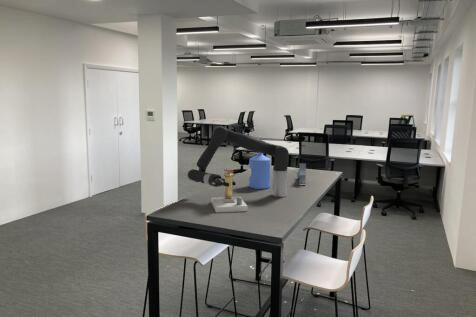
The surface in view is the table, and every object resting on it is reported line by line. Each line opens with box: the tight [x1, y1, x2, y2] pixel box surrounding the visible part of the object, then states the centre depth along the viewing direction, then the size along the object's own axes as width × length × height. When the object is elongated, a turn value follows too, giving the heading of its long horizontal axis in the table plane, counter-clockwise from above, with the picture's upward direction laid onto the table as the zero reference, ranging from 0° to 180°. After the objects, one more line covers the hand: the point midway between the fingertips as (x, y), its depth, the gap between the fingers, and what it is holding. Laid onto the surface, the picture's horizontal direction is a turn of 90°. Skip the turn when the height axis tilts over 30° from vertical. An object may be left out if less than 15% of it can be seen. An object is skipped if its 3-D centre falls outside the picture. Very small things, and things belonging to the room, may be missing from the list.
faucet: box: [296, 163, 307, 185], centre depth 301 cm, size 6×17×30 cm
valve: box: [223, 168, 235, 199], centre depth 226 cm, size 6×5×17 cm
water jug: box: [248, 152, 272, 190], centre depth 281 cm, size 16×16×28 cm
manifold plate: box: [211, 196, 248, 213], centre depth 228 cm, size 22×18×7 cm
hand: (231, 184), depth 224 cm, fingers closed on valve, 4 cm apart
